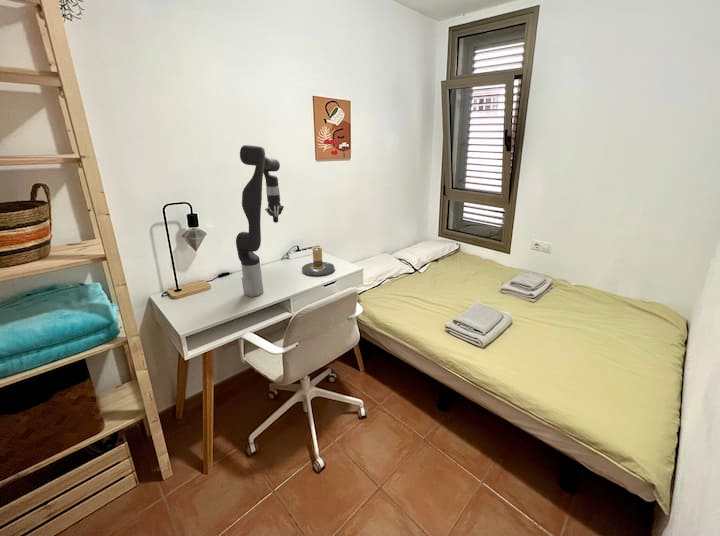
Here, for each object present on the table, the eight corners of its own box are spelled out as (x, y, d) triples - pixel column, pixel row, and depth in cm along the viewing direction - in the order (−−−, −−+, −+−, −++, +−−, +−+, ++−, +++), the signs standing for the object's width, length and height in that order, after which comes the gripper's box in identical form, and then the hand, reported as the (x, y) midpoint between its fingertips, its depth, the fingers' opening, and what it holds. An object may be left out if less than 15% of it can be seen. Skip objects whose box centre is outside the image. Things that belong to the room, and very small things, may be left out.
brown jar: (318, 270, 203) (317, 251, 198) (310, 267, 206) (308, 249, 202) (326, 266, 208) (325, 248, 203) (317, 264, 212) (316, 246, 207)
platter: (318, 278, 195) (318, 275, 194) (295, 271, 206) (295, 268, 205) (340, 268, 210) (340, 265, 209) (317, 262, 221) (317, 259, 220)
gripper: (268, 195, 192) (271, 225, 198) (285, 193, 201) (288, 221, 208) (260, 194, 196) (263, 223, 202) (277, 192, 206) (280, 219, 212)
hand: (276, 222), depth 205 cm, fingers closed
